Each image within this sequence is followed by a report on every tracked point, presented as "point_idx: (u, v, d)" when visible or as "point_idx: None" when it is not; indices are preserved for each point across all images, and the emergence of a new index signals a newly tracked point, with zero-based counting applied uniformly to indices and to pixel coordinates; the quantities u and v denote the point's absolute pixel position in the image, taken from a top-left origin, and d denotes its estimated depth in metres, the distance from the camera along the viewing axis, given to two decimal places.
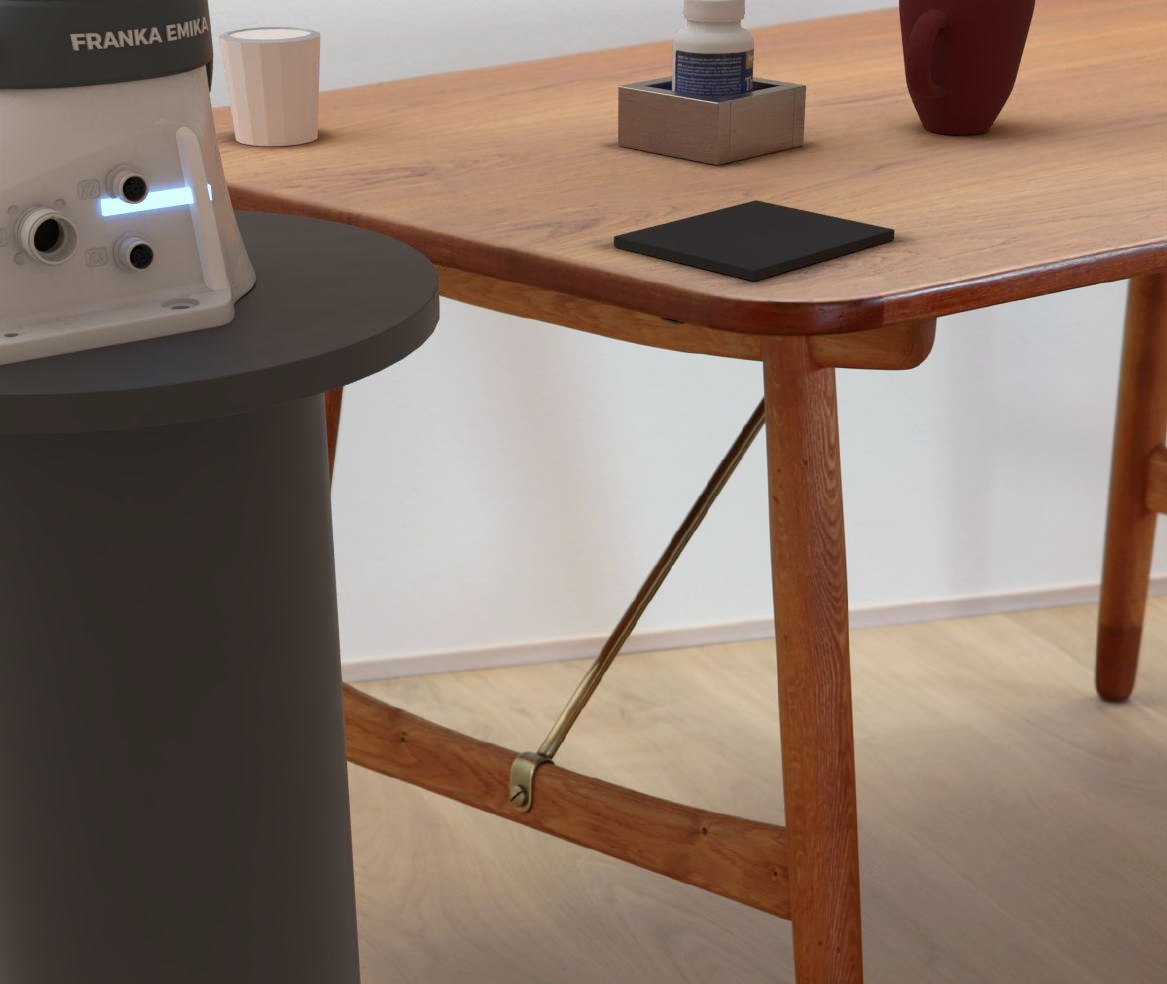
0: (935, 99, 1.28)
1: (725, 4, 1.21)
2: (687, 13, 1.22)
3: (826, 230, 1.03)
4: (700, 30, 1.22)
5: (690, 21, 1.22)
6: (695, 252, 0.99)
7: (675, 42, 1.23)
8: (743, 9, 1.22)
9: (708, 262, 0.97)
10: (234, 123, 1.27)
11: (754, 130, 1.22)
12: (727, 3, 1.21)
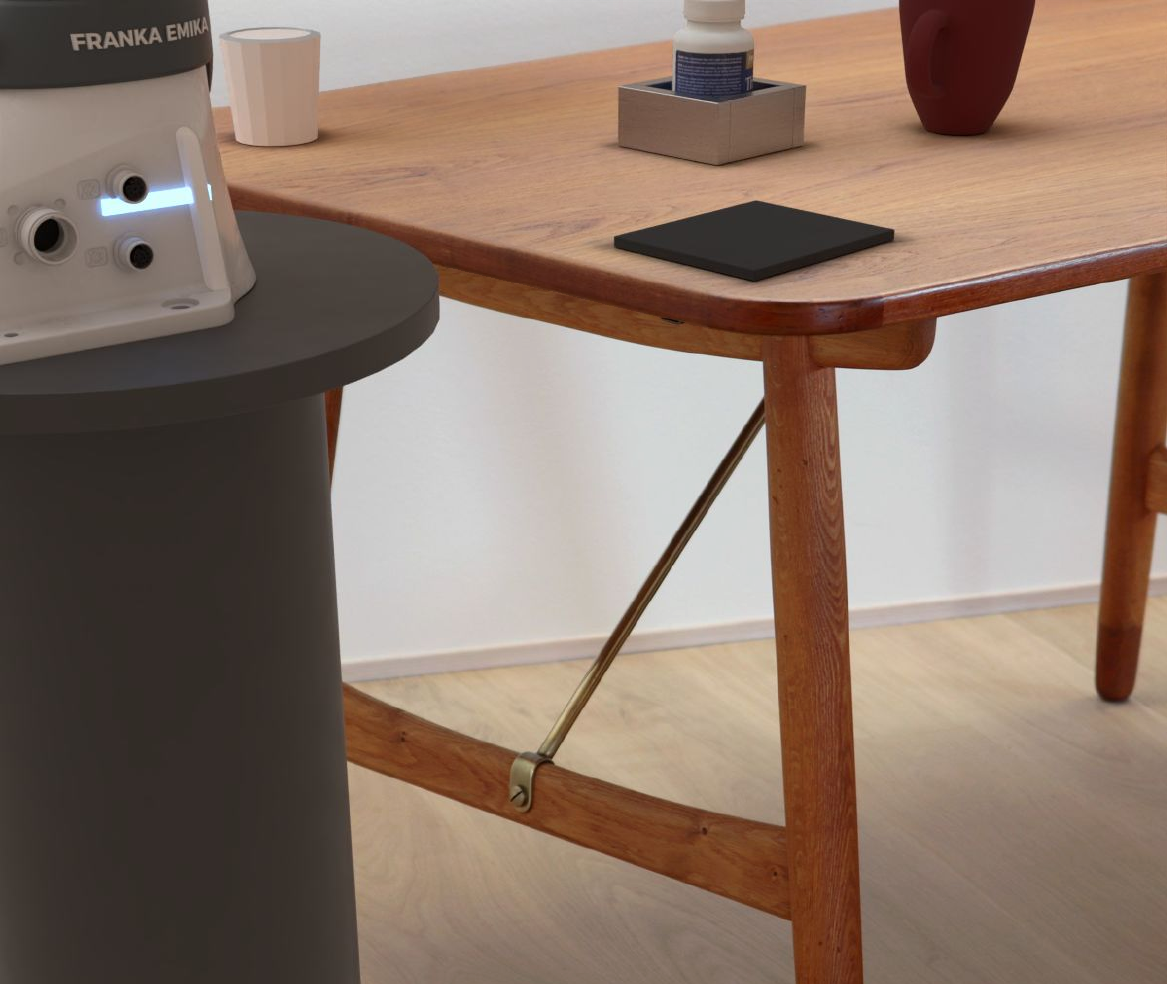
0: (935, 99, 1.28)
1: (725, 4, 1.21)
2: (688, 13, 1.22)
3: (826, 230, 1.03)
4: (701, 29, 1.22)
5: (690, 21, 1.22)
6: (695, 252, 0.99)
7: (675, 42, 1.23)
8: (743, 9, 1.22)
9: (708, 262, 0.97)
10: (234, 123, 1.27)
11: (754, 130, 1.22)
12: (727, 3, 1.21)
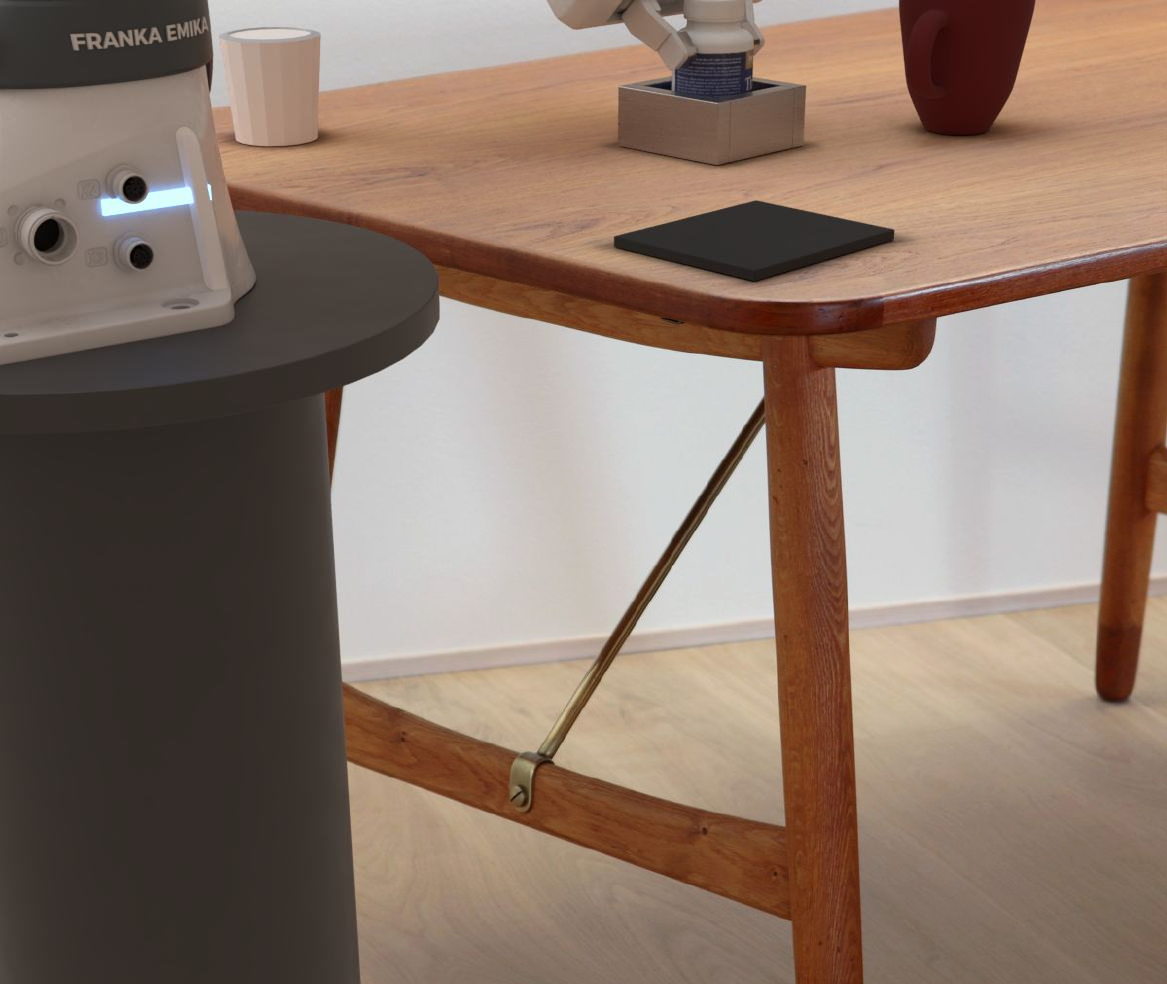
0: (935, 99, 1.28)
1: (725, 4, 1.21)
2: (687, 13, 1.22)
3: (826, 230, 1.03)
4: (700, 29, 1.22)
5: (690, 21, 1.22)
6: (695, 252, 0.99)
7: None
8: (743, 9, 1.22)
9: (708, 262, 0.97)
10: (234, 123, 1.27)
11: (754, 130, 1.22)
12: (727, 3, 1.21)
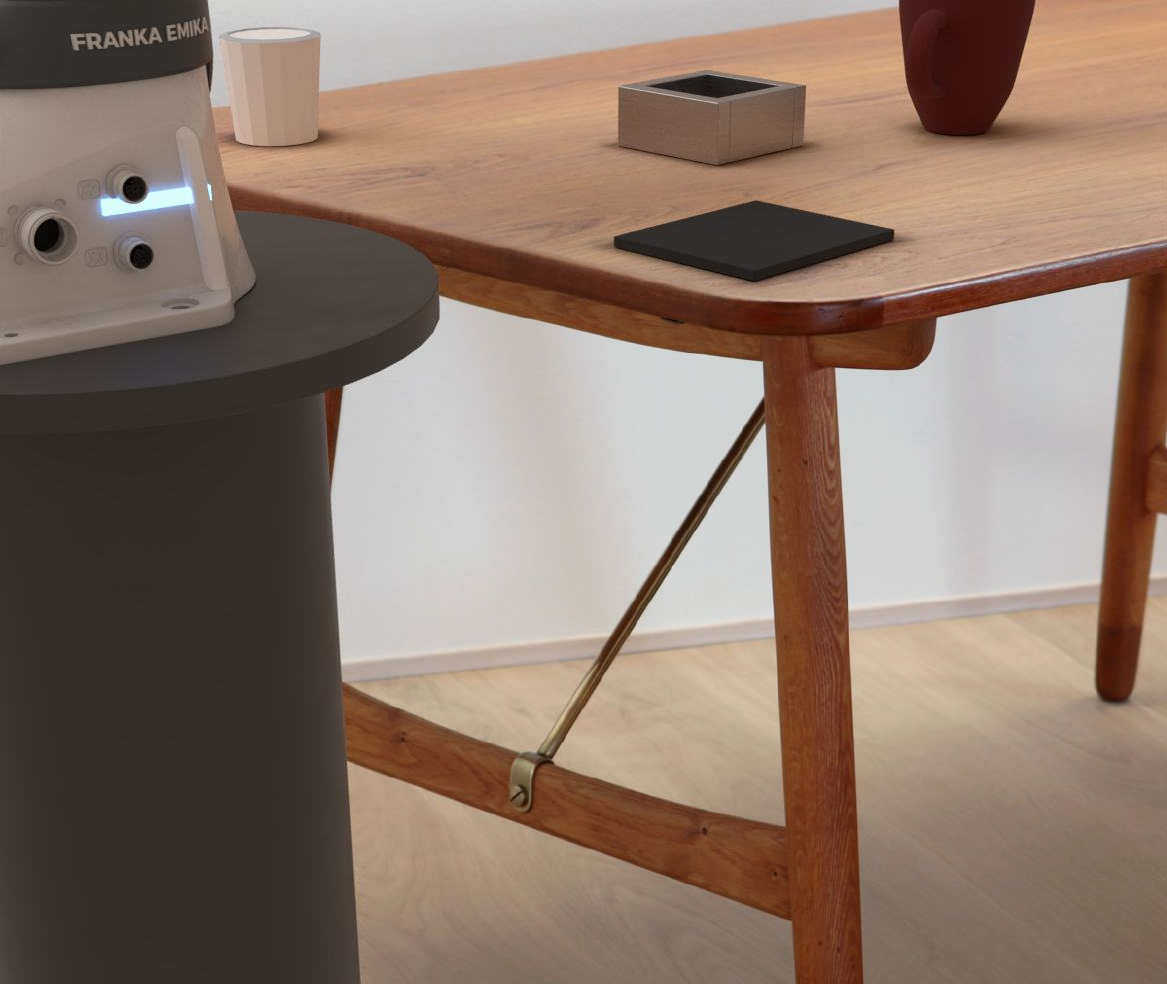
0: (935, 99, 1.28)
1: None
2: None
3: (826, 230, 1.03)
4: None
5: None
6: (695, 252, 0.99)
7: None
8: None
9: (708, 262, 0.97)
10: (234, 123, 1.27)
11: (754, 130, 1.22)
12: None
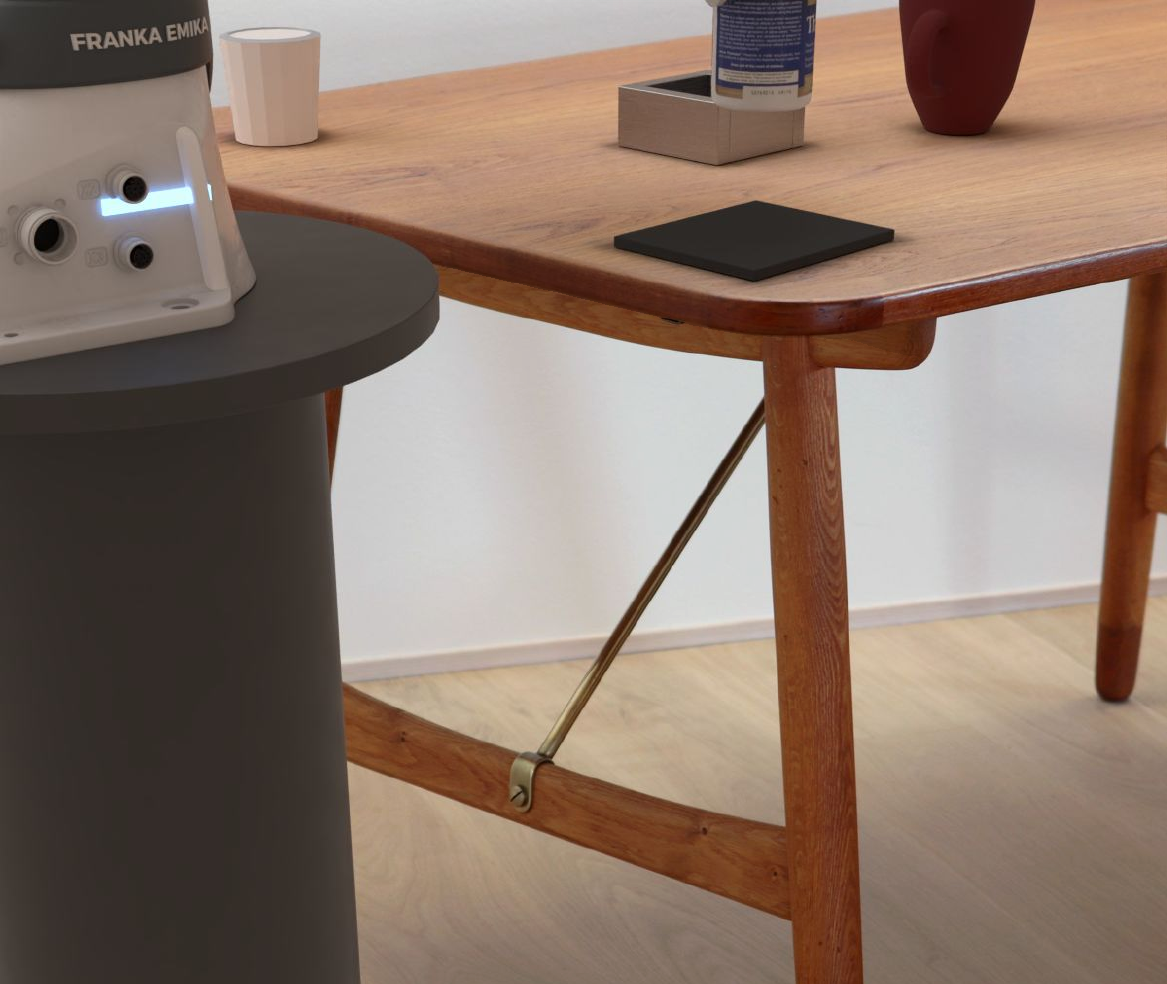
0: (935, 99, 1.28)
1: None
2: None
3: (826, 230, 1.03)
4: None
5: None
6: (695, 252, 0.99)
7: None
8: None
9: (708, 262, 0.97)
10: (234, 123, 1.27)
11: (754, 130, 1.22)
12: None
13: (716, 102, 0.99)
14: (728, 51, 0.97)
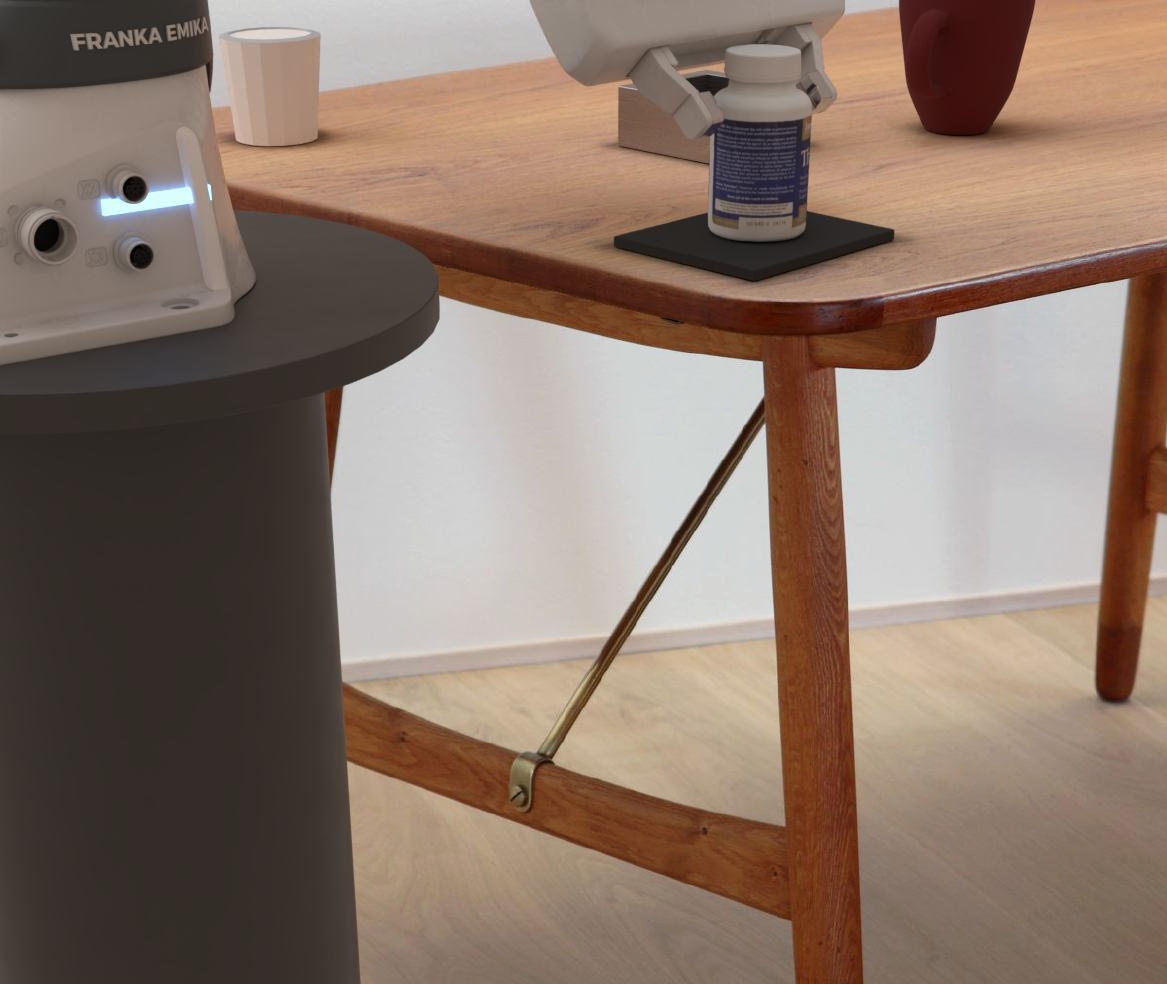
0: (935, 99, 1.28)
1: (777, 61, 0.97)
2: (730, 71, 0.98)
3: (826, 230, 1.03)
4: (746, 92, 0.98)
5: (733, 81, 0.98)
6: (695, 252, 0.99)
7: None
8: (799, 66, 0.98)
9: (708, 262, 0.97)
10: (234, 123, 1.27)
11: None
12: (780, 60, 0.97)
13: (713, 230, 1.01)
14: (725, 183, 1.00)
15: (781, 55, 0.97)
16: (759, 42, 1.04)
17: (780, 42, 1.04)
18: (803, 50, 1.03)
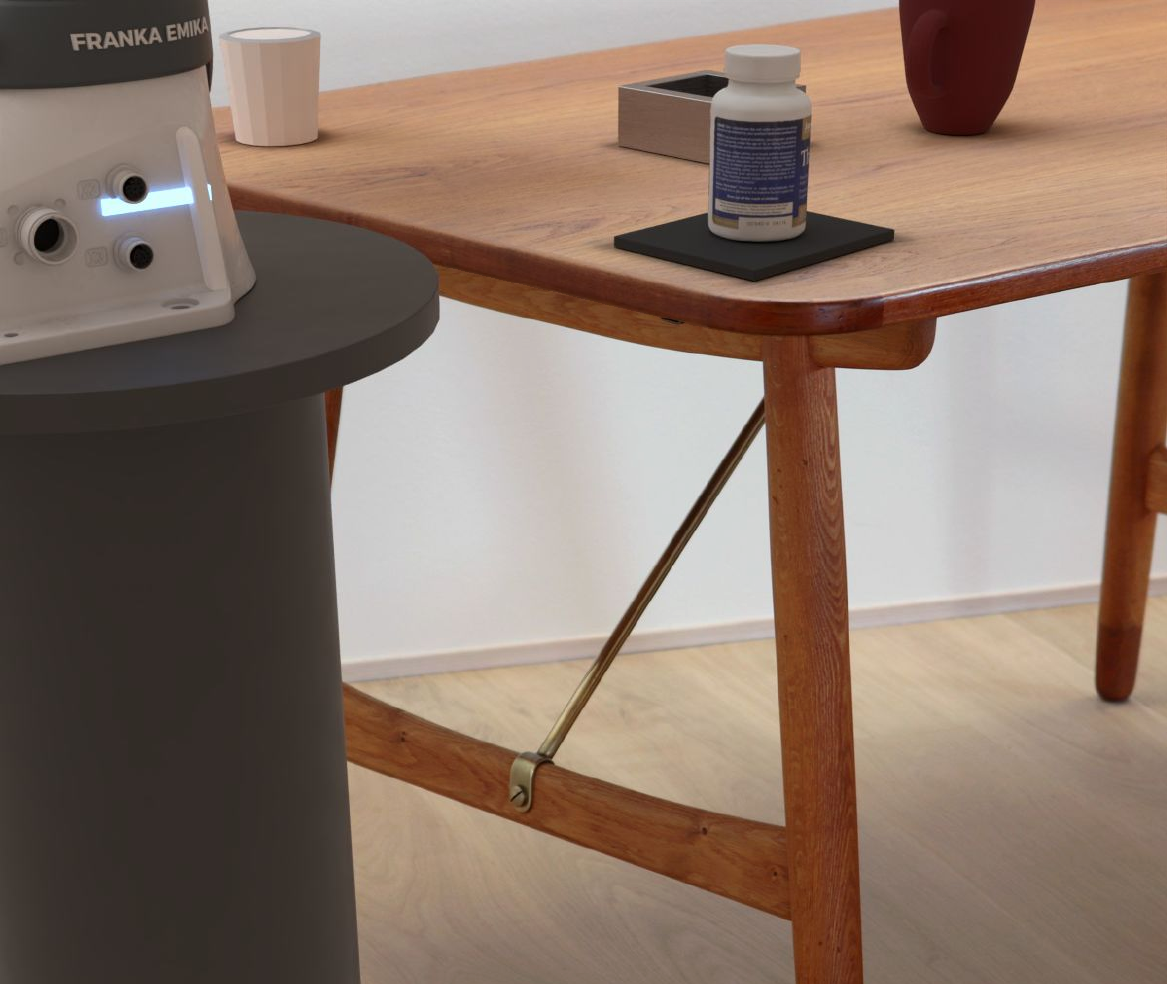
0: (935, 99, 1.28)
1: (777, 61, 0.97)
2: (730, 71, 0.98)
3: (826, 230, 1.03)
4: (746, 92, 0.98)
5: (733, 81, 0.98)
6: (695, 252, 0.99)
7: (714, 107, 0.99)
8: (799, 66, 0.98)
9: (708, 262, 0.97)
10: (234, 123, 1.27)
11: None
12: (780, 59, 0.97)
13: (713, 230, 1.01)
14: (725, 183, 1.00)
15: (781, 55, 0.97)
16: None
17: None
18: None
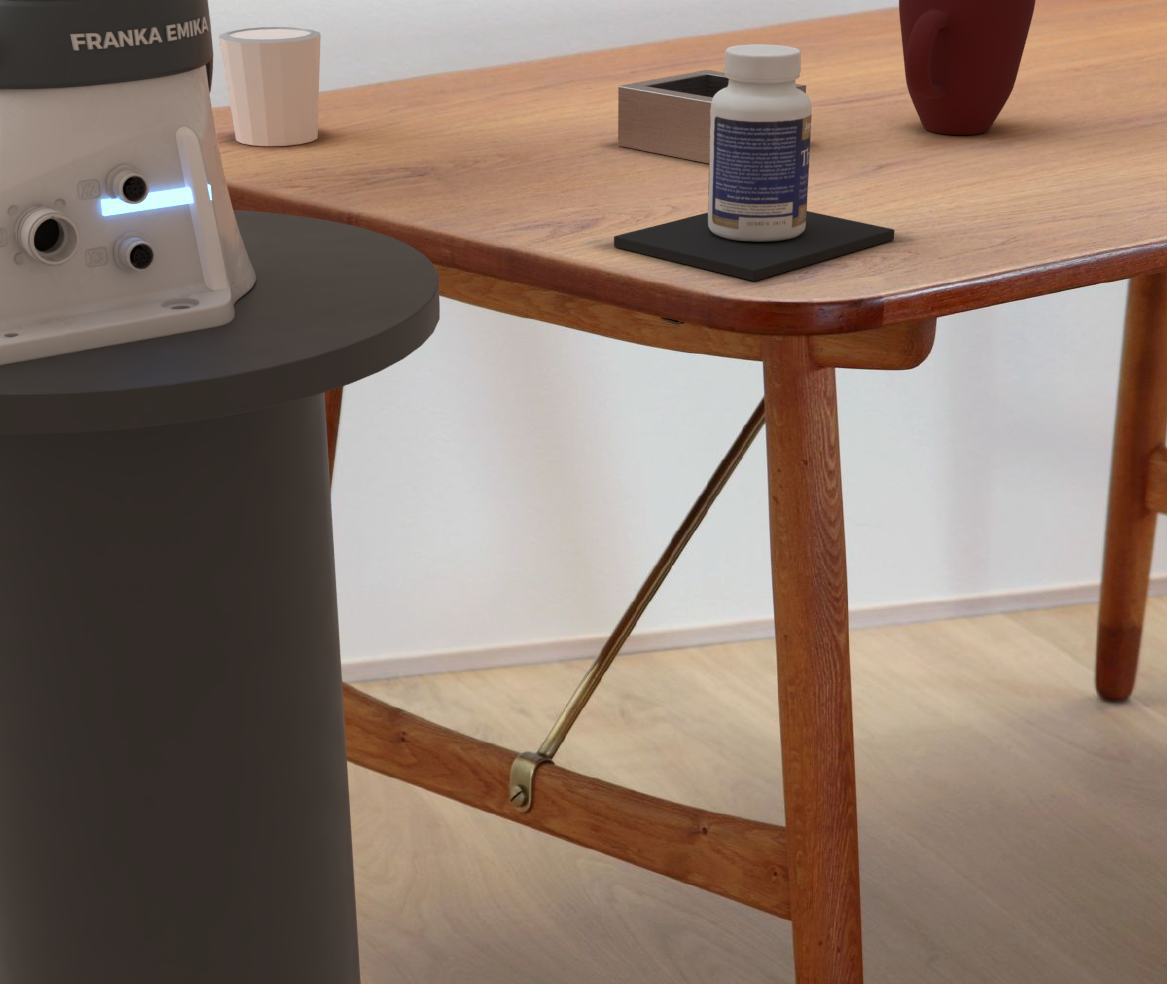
0: (935, 99, 1.28)
1: (777, 61, 0.97)
2: (730, 71, 0.98)
3: (826, 230, 1.03)
4: (746, 92, 0.98)
5: (733, 81, 0.98)
6: (695, 252, 0.99)
7: (714, 107, 0.99)
8: (799, 66, 0.98)
9: (708, 262, 0.97)
10: (234, 123, 1.27)
11: None
12: (780, 59, 0.97)
13: (713, 230, 1.01)
14: (725, 183, 1.00)
15: (781, 55, 0.97)
16: None
17: None
18: None
